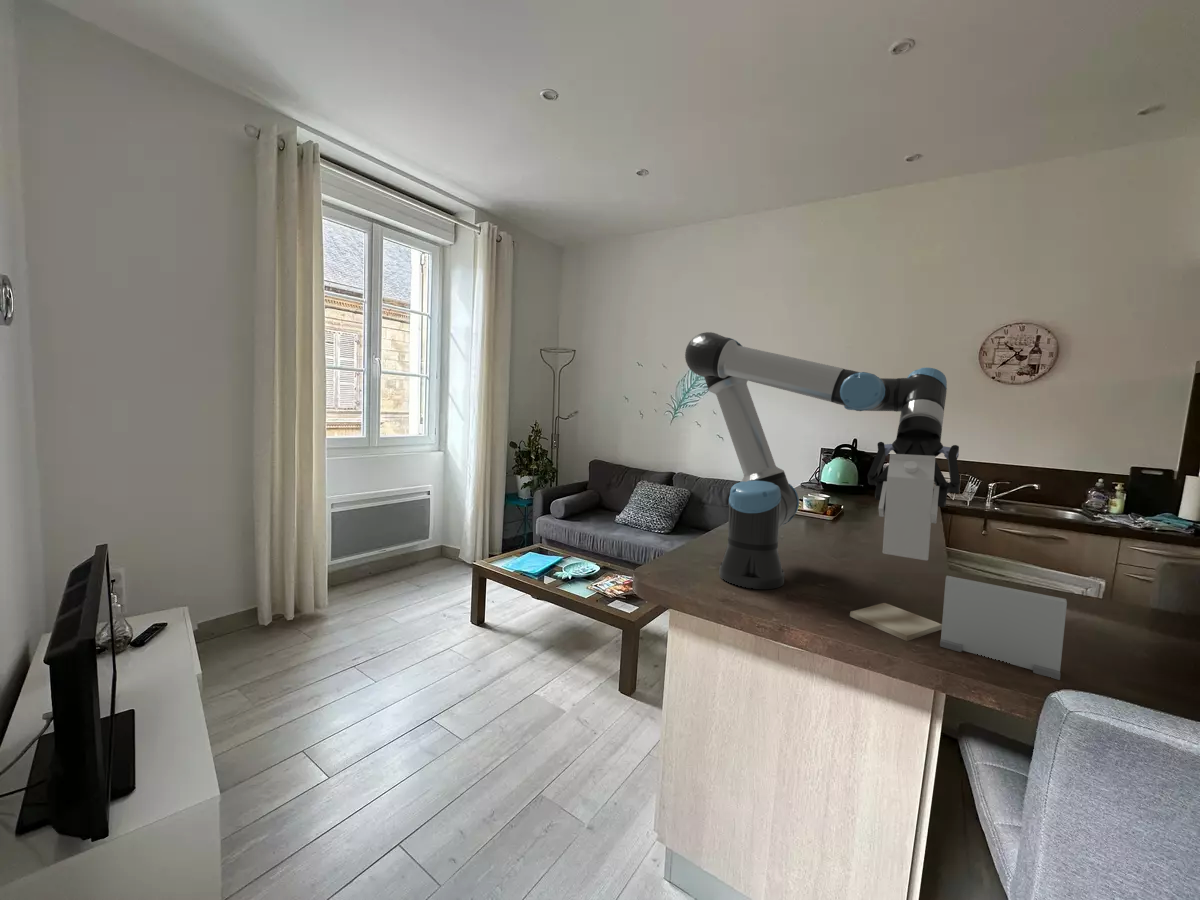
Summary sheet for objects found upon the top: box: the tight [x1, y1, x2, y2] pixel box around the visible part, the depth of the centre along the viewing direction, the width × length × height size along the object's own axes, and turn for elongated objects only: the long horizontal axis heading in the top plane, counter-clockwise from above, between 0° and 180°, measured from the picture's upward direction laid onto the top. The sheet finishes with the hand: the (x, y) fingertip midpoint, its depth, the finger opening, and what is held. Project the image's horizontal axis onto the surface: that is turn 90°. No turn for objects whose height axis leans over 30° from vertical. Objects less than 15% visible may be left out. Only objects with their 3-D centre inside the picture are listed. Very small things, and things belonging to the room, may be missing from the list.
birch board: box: [849, 602, 942, 642], centre depth 90 cm, size 11×11×1 cm
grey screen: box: [939, 575, 1068, 681], centre depth 77 cm, size 15×4×12 cm, turn 48°
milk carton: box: [882, 453, 936, 561], centre depth 88 cm, size 7×7×19 cm
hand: (906, 515), depth 85 cm, fingers closed on milk carton, 7 cm apart
